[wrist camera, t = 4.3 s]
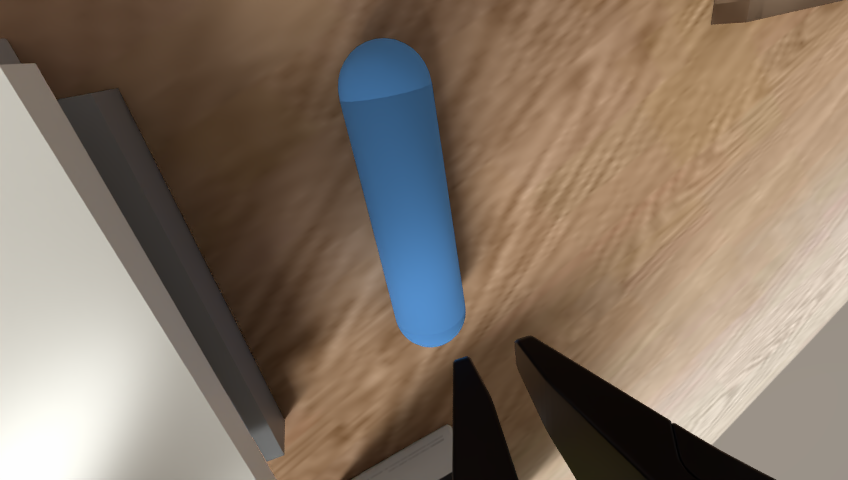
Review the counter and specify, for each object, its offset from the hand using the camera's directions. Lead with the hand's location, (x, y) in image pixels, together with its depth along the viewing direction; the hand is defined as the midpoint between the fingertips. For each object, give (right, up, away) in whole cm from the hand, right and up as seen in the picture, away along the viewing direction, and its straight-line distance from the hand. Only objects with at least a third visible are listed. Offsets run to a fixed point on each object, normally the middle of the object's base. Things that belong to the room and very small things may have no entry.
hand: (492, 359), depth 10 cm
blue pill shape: (-3, +5, +12) cm, 13 cm away
